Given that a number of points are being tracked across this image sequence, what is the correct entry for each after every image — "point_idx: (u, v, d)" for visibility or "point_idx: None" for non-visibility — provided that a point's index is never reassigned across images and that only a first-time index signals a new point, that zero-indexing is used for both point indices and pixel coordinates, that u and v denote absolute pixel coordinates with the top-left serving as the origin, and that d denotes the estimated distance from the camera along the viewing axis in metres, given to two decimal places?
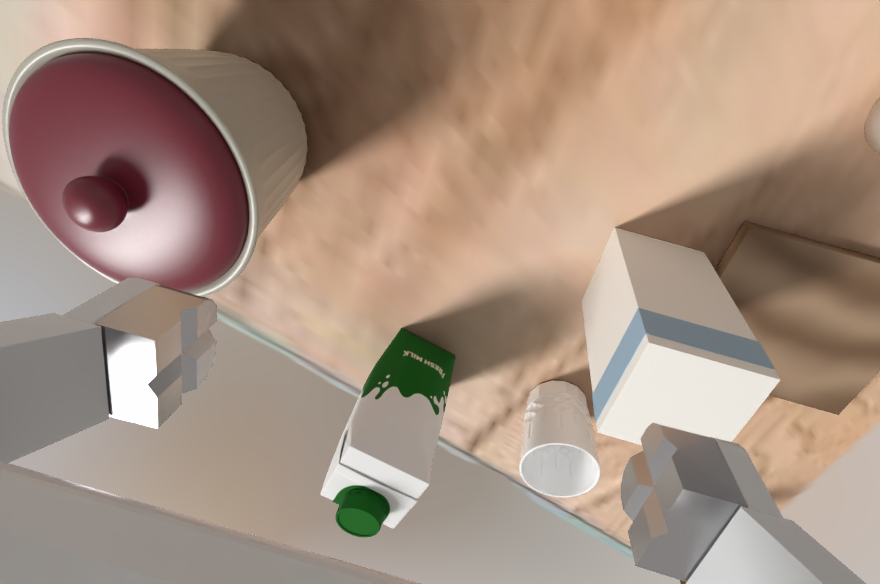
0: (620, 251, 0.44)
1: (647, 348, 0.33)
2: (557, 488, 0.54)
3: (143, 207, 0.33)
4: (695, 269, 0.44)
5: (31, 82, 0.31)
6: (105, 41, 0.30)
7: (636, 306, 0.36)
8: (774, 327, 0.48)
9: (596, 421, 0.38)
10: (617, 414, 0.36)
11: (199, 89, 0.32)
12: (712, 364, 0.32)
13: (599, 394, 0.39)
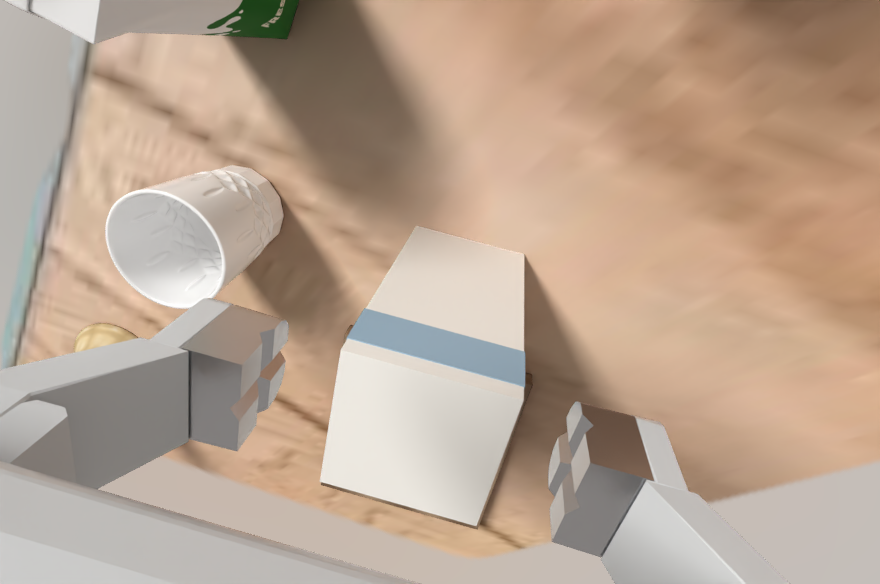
0: (521, 278, 0.35)
1: (513, 399, 0.23)
2: (122, 248, 0.33)
3: None
4: None
5: None
6: None
7: (519, 345, 0.27)
8: None
9: (348, 338, 0.24)
10: (384, 372, 0.23)
11: None
12: (492, 466, 0.25)
13: (381, 325, 0.26)
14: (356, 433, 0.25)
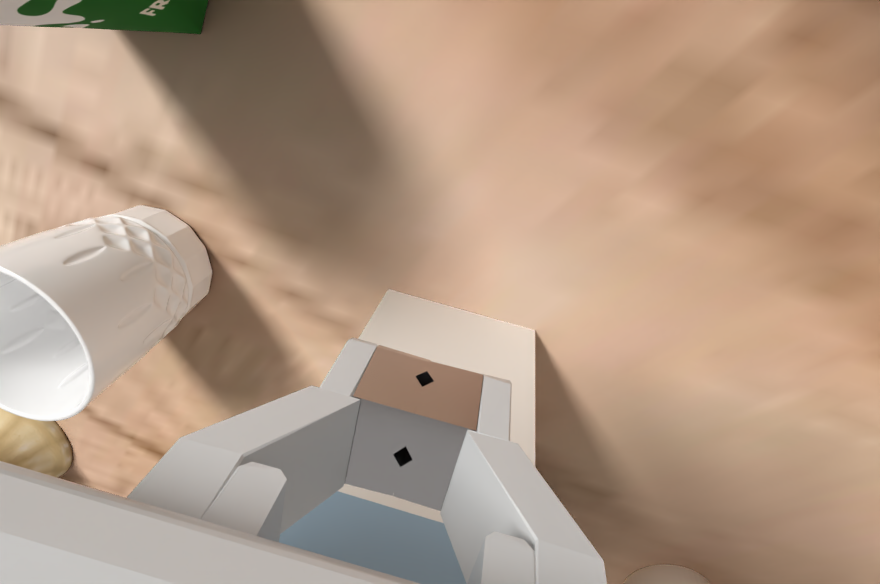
0: (531, 378, 0.24)
1: None
2: None
3: None
4: None
5: None
6: None
7: None
8: None
9: None
10: None
11: None
12: None
13: None
14: None
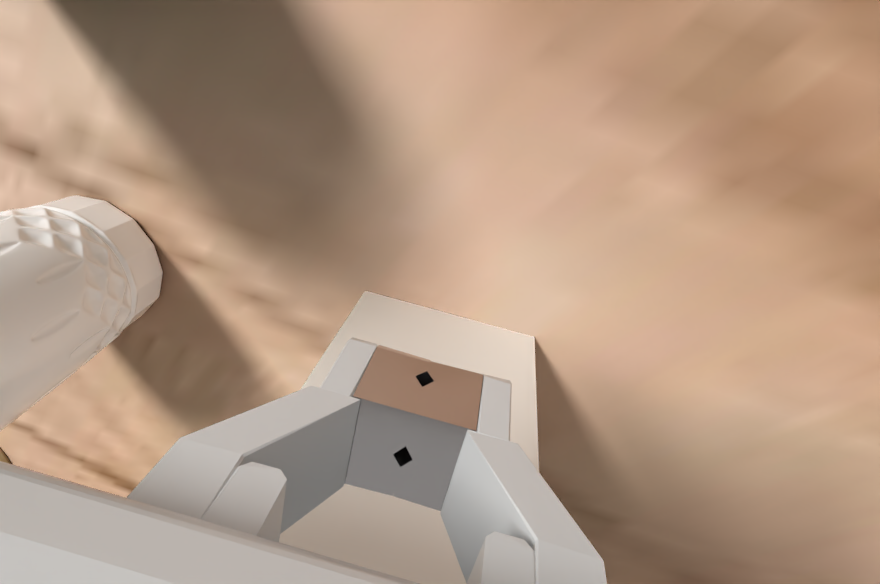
0: (532, 394, 0.20)
1: None
2: None
3: None
4: None
5: None
6: None
7: None
8: None
9: None
10: None
11: None
12: None
13: None
14: None
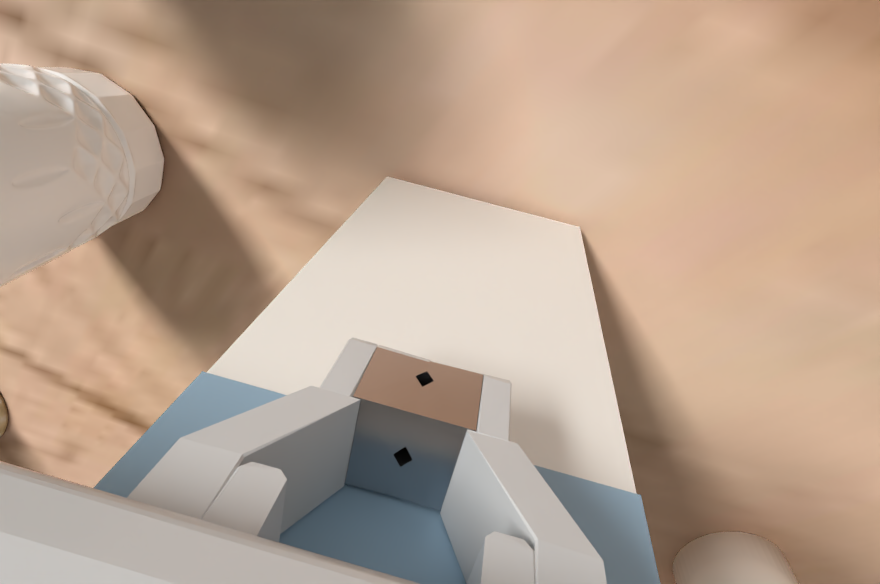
0: (584, 274, 0.18)
1: None
2: None
3: None
4: None
5: None
6: None
7: (620, 470, 0.10)
8: None
9: None
10: None
11: None
12: None
13: None
14: None
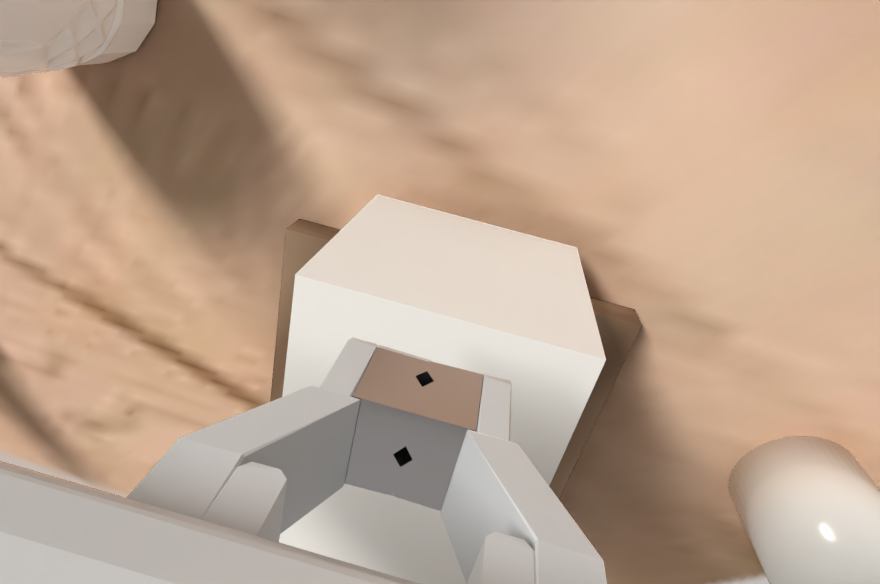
0: None
1: None
2: None
3: None
4: None
5: None
6: None
7: None
8: None
9: None
10: None
11: None
12: None
13: None
14: None
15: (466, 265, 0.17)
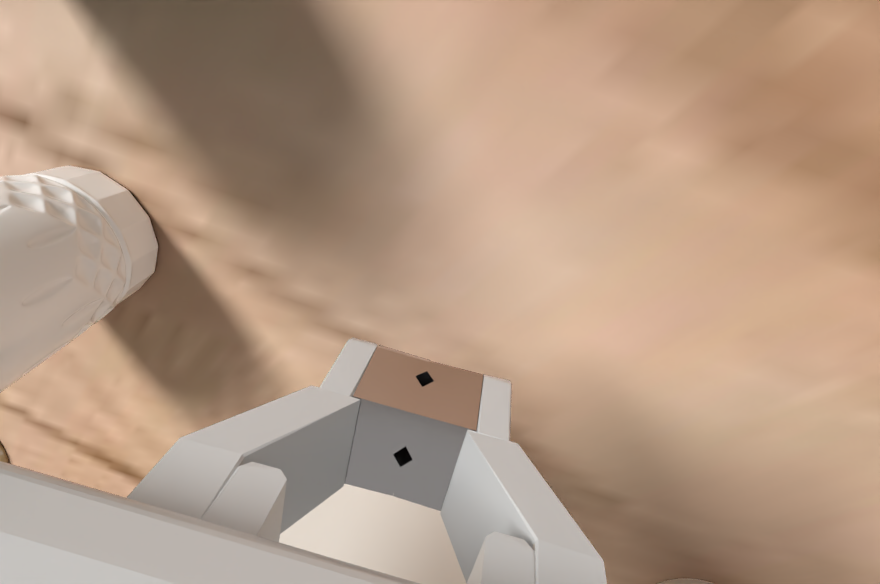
0: None
1: None
2: None
3: None
4: None
5: None
6: None
7: None
8: None
9: None
10: None
11: None
12: None
13: None
14: None
15: (394, 503, 0.22)
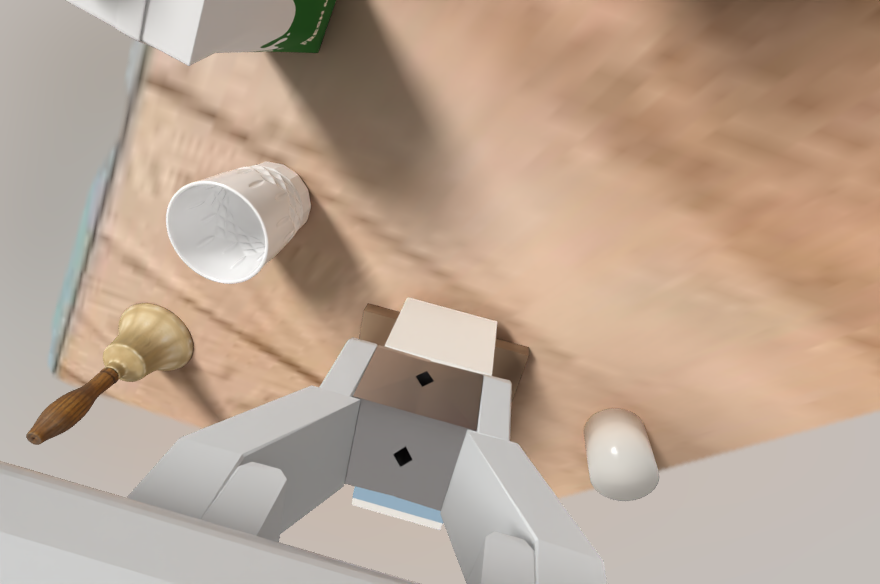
0: None
1: None
2: (178, 231, 0.39)
3: None
4: None
5: None
6: None
7: None
8: None
9: (353, 497, 0.47)
10: None
11: None
12: None
13: None
14: None
15: (446, 336, 0.42)
